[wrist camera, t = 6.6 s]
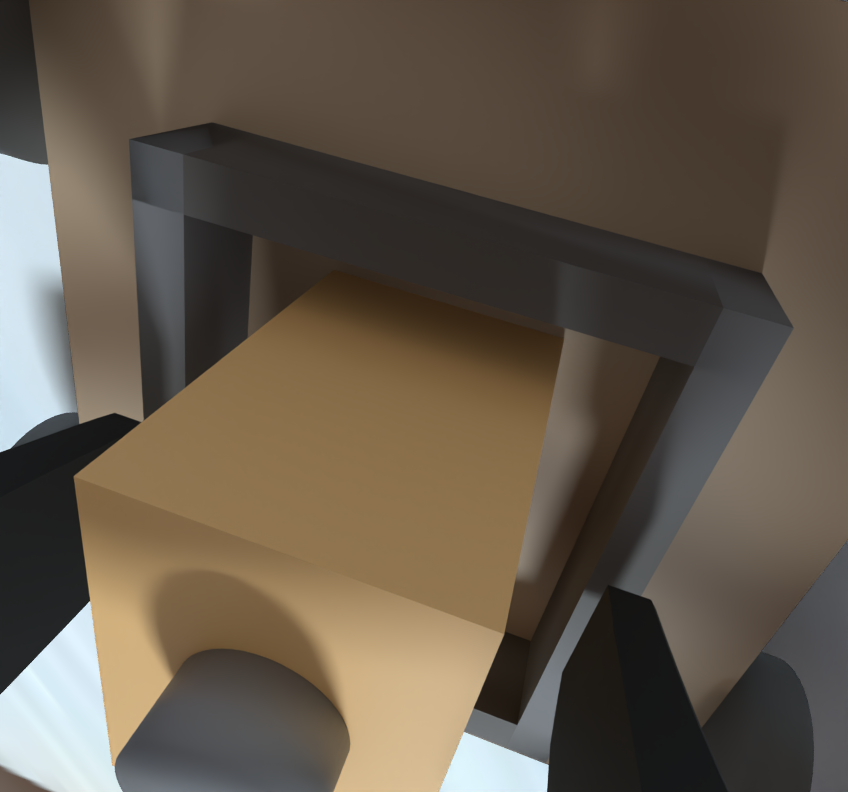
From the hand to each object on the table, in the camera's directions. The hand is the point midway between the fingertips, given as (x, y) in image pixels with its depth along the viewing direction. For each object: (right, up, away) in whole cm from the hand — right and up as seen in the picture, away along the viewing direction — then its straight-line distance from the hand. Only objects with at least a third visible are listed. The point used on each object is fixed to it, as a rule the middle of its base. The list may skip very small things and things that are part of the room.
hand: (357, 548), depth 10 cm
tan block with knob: (+1, +2, +2) cm, 3 cm away
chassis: (+1, +3, +5) cm, 6 cm away
